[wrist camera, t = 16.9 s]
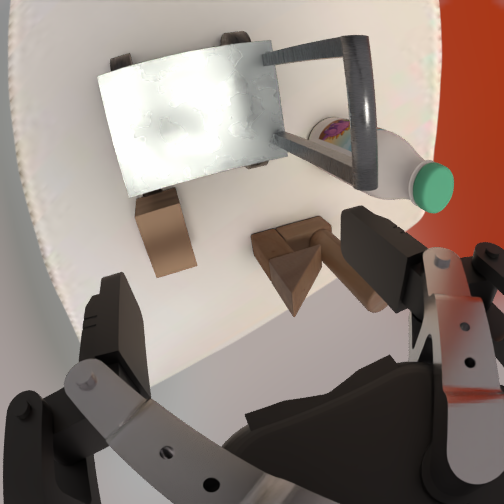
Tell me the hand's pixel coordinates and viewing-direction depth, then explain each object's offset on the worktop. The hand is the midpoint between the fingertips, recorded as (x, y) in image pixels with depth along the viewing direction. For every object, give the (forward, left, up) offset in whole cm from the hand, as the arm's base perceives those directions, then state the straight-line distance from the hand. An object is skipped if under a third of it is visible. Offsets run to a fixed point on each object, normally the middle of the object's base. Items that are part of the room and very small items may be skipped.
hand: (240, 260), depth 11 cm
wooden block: (+17, +12, -29) cm, 35 cm away
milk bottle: (+5, +20, -29) cm, 35 cm away
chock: (+10, -4, -29) cm, 31 cm away
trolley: (-3, +2, -29) cm, 29 cm away
